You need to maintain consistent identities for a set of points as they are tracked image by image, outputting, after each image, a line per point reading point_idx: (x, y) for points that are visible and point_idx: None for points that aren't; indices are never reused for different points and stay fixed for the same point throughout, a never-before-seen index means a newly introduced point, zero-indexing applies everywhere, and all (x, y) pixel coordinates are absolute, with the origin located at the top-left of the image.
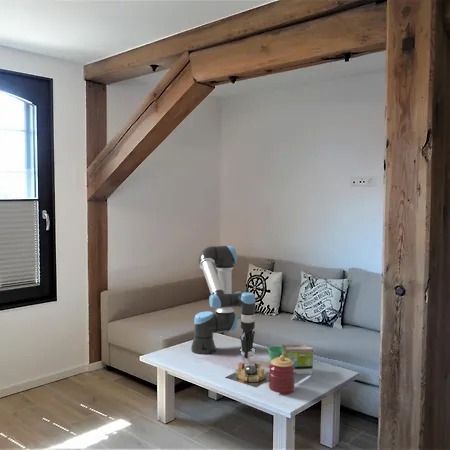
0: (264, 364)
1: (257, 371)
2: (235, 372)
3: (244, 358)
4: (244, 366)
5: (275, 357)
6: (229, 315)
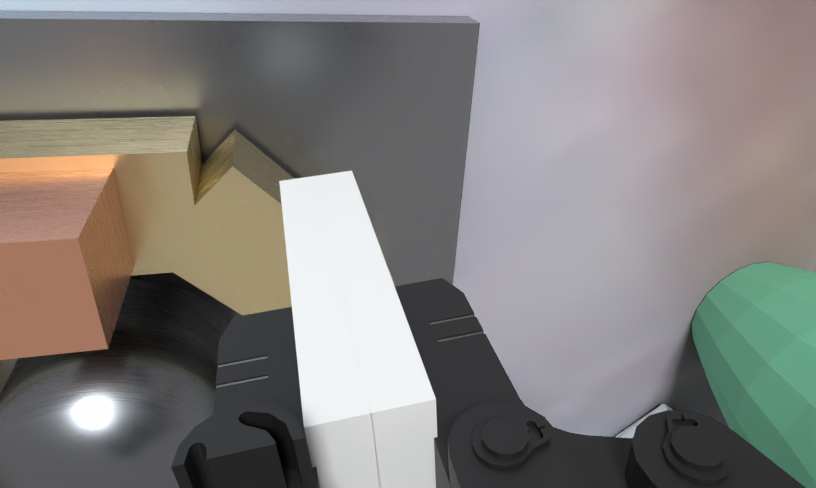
0: (759, 159)
1: None
2: (18, 35)
3: (287, 251)
4: (121, 293)
5: None
6: None
